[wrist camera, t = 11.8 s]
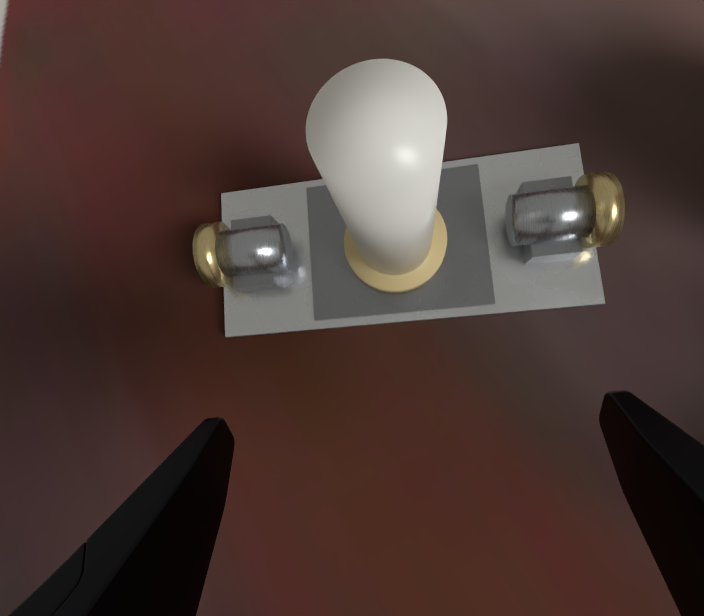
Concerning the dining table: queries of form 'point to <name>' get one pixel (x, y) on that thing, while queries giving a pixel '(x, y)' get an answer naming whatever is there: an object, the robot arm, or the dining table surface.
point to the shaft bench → (459, 261)
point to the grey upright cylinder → (383, 169)
